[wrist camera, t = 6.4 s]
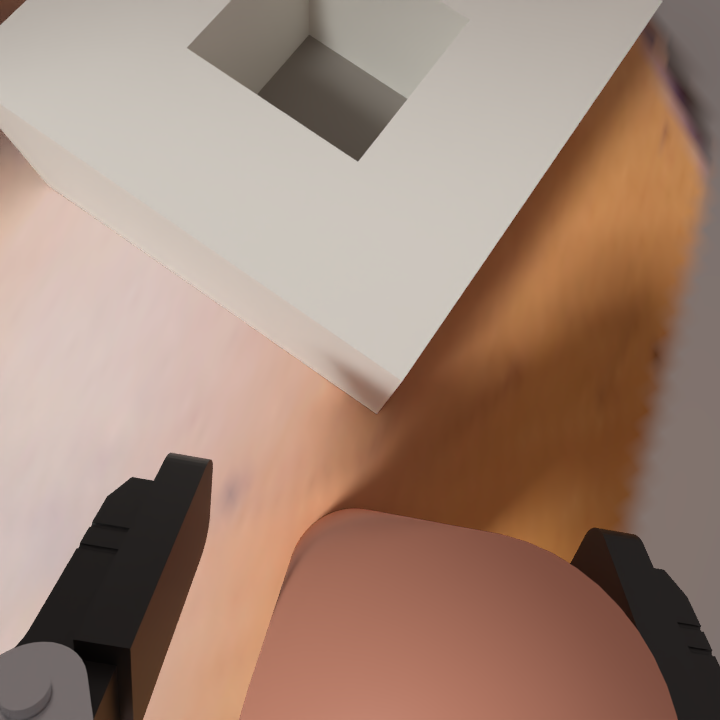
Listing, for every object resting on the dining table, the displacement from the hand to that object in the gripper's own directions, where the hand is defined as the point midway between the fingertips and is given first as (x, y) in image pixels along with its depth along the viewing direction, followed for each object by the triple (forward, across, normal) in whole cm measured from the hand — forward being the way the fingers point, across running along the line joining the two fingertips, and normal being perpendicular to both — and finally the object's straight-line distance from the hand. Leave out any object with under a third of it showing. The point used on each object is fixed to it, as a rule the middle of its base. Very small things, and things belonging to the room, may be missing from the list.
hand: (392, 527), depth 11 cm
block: (+12, +3, -4) cm, 13 cm away
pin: (+3, 0, +5) cm, 6 cm away
